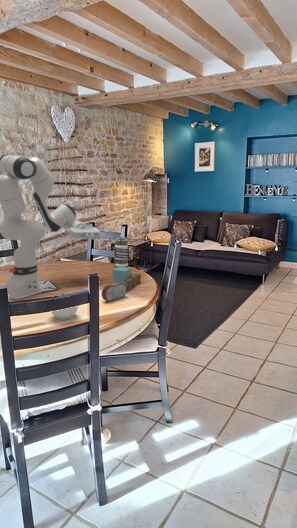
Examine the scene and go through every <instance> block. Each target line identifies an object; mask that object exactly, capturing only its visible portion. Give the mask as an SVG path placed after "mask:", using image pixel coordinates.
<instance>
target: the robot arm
mask: <svg viewBox="0 0 297 528" xmlns="http://www.w3.org/2000/svg"><path fill="white" fill-rule="evenodd" d="M28 179H29V181H30V182H31V184H32V186H33V194H32V196H33V199H34V203H35V204H36V205H35V206H37V209H38V211H39V213H40V216H41V217H42V220H43V222H41V221H38V220H33V219H24V218H22V214H23V213H24V212H25V210H26V204H25V201H24V197H23V195H22V192H21V189H20V187H19V180H28ZM54 186H55V179H54V178H53V175H52V173H51V172H50V171H49V169H48V167H47V166H46V164H44V163H43V161H42V160H41V159H40V158H39V157H36V156H32V157H29V158H28V157H24V156H21V155H17V154H6V153H5V154H3V155H1V156H0V206H1V209H2V212H3V221H2V222H1V224H0V235H1V236H2V238H5V239H8V240H12V241H20V244H19V247H17V248H16V249H15V250H14V251H13V261H14V266H13V268H9V270H8V271H9V273H12V275H11V276H10V277H9V279H8V280H7V282H6V283H5V284H4V287H5V286H7V287H8V294H9V299H8V300H21V299H25V298H27V297H28V298H29V297H31V296H34V295H36V294H40V293H43V290H42V287H41V283H40V281H41V280H40V277H39V275H38V264H37V262H36V261H37V256H36V255H37V253H36V251H37V246H38V245H39V244H40V243H39V242H40V241H41V240H42V239H43V238H44V237H45V235H46V229H47V230H48V231H49V232H53V233H55V232H59V231H60V230H61V229H62V228H63V229H64V230H65V232H67V235H69V236H70V237H71V238H74V239H87V240H88V239H89V240H96V238H100V237H101V231H100V230H99V229H98V228H96V227H95V226H93V225H92V224H91V223H86V222H83V221H80V220H78V219H77V213H76V210H75V209H74V208H73V207H72V206H71V205H70V204H67V203H62V204H60V205H59V206H58V207H56V209H54V210H53V211H52V212H51V213H50V211H49V208H48V206H47V200H48V198H49V196H50V195H51V192H52V191H53V189H54Z"/></svg>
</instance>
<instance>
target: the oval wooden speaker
mask: <svg viewBox="0 0 297 528" xmlns="http://www.w3.org/2000/svg"><path fill="white" fill-rule="evenodd" d="M126 291H127V286H126V285H125V284H124V283H122V282H117V283H113V282H112V283H109V284H106V285H104V287H103V289H102V291H101V297H102V299H103V300H104V301H106V302H112V301H117V300H119V299H122V298H124V297H125V295H126V294H127V292H128V291H127V292H126Z"/></svg>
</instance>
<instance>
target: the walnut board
mask: <svg viewBox="0 0 297 528" xmlns="http://www.w3.org/2000/svg"><path fill="white" fill-rule="evenodd" d="M141 275H142V273H134V274H133V275H132V274H131V277H129V278H127V279H126V280H124V281H122V283H124V284H125V285H126V286H127V291H126V293H127V292H128V291H129V290H131V289H132V288H133V287H135V286H136V285H138V284H140V283H141V282H142V277H141Z"/></svg>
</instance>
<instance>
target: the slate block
mask: <svg viewBox="0 0 297 528" xmlns="http://www.w3.org/2000/svg"><path fill="white" fill-rule="evenodd" d="M131 276H132V268H131V267H128V268H126V267H117V268H116V267H115V268H114V269H112V283H117V282H122V281H124V280H126V279H127V278H129V277H131Z"/></svg>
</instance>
